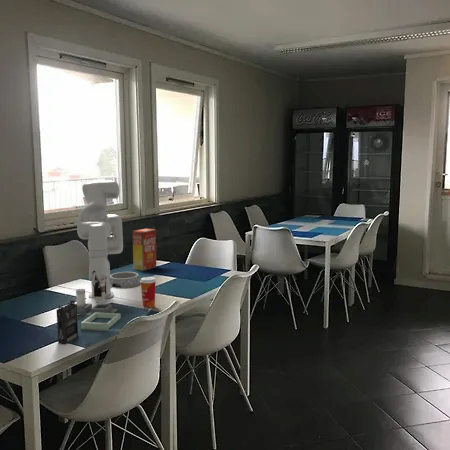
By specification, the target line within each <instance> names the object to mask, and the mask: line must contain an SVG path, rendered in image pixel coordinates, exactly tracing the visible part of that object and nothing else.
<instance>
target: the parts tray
mask: <svg viewBox="0 0 450 450" xmlns="http://www.w3.org/2000/svg"><path fill="white" fill-rule="evenodd" d="M121 314H122V313H115V312H114V313H98V312H95V313H94V314H92V315H88V317H87V318H85V319H84V320H83V321H81V323H80V326H81V327H80V328H81V331H82V330H85V331H101V332H103V331H104V332H109V331H110V330H111V329H112V326H113V325H115V323H117V322H118V321H119V320H120V319H122V317H121ZM97 318H99V319H110V320H109V321H107V322H94V320H95V319H97Z"/></svg>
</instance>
